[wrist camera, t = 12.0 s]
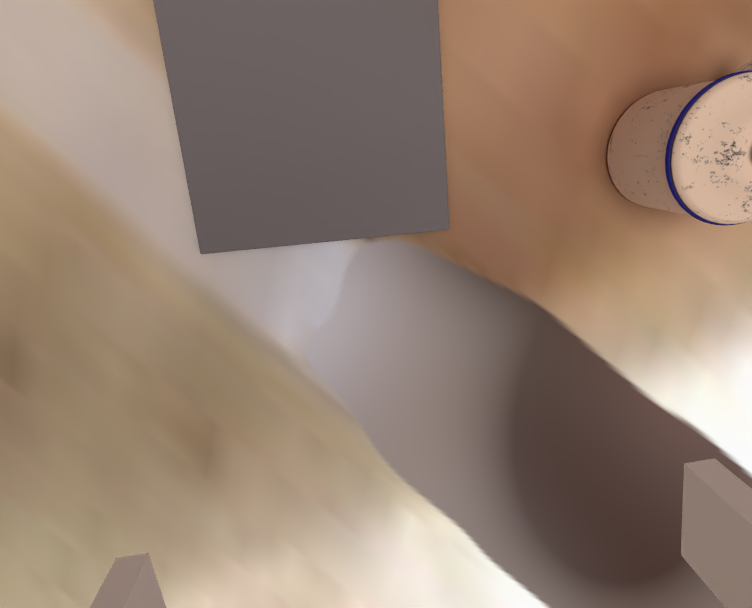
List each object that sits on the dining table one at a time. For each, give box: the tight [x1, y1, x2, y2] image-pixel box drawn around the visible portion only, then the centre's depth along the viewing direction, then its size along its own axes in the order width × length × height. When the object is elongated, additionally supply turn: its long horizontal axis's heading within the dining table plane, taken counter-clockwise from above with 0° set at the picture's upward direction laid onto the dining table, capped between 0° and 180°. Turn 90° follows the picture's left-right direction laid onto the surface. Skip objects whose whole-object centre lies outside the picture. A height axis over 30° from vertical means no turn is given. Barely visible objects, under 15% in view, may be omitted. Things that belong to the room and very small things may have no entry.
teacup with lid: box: [607, 60, 752, 225], centre depth 35 cm, size 12×9×12 cm
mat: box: [153, 0, 449, 254], centre depth 38 cm, size 19×19×1 cm
